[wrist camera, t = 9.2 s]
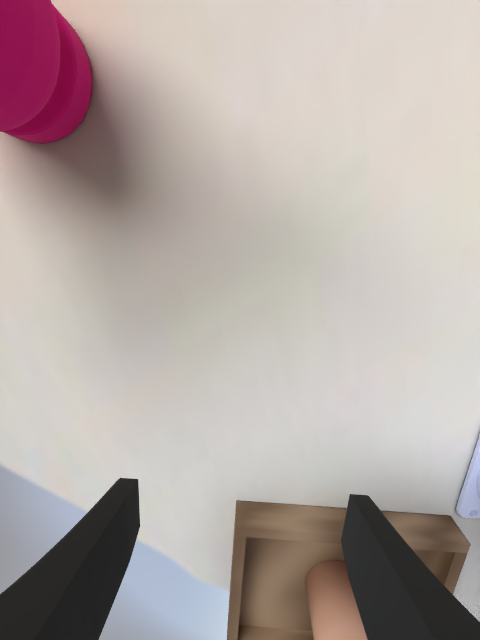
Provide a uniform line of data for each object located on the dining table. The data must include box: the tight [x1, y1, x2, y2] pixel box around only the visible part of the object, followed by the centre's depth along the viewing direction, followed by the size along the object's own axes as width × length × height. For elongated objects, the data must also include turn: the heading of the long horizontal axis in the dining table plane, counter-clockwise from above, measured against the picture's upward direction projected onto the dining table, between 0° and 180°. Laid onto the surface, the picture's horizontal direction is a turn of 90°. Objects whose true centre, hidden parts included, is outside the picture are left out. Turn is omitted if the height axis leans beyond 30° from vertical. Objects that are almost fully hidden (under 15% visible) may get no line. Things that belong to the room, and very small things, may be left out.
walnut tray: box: [227, 501, 470, 640], centre depth 24 cm, size 16×13×2 cm
